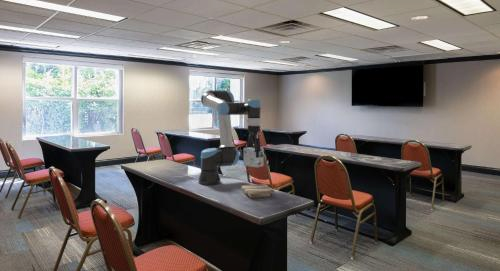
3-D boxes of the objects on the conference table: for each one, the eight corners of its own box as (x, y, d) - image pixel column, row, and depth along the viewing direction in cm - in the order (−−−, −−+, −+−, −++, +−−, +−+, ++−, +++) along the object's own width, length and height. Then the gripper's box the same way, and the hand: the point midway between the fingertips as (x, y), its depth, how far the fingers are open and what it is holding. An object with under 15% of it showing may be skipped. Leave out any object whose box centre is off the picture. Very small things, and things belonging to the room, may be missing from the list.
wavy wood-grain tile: (240, 191, 210) (240, 185, 209) (264, 190, 215) (264, 183, 214) (248, 199, 194) (249, 192, 194) (274, 197, 199) (274, 190, 199)
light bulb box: (263, 166, 201) (264, 148, 200) (257, 167, 196) (257, 149, 195) (249, 164, 208) (249, 146, 207) (242, 165, 202) (243, 148, 201)
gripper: (242, 124, 210) (242, 158, 212) (254, 126, 187) (253, 165, 189) (253, 123, 212) (253, 157, 214) (266, 126, 189) (266, 164, 191)
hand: (253, 161), depth 202 cm, fingers closed on light bulb box, 12 cm apart
